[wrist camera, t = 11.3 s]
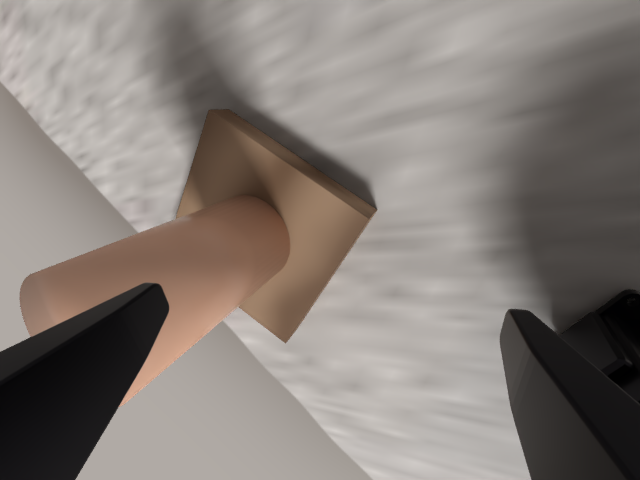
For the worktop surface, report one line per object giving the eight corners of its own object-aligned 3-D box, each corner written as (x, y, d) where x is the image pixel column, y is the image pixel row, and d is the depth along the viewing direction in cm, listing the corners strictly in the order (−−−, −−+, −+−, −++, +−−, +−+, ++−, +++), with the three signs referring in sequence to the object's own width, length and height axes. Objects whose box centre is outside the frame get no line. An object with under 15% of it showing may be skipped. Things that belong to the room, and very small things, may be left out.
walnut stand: (377, 209, 21) (368, 219, 19) (297, 328, 27) (285, 343, 25) (228, 109, 23) (208, 109, 21) (184, 242, 29) (165, 250, 27)
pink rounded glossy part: (285, 196, 21) (103, 283, 11) (294, 282, 23) (149, 425, 13) (208, 194, 23) (-2, 263, 13) (223, 272, 25) (51, 387, 15)
